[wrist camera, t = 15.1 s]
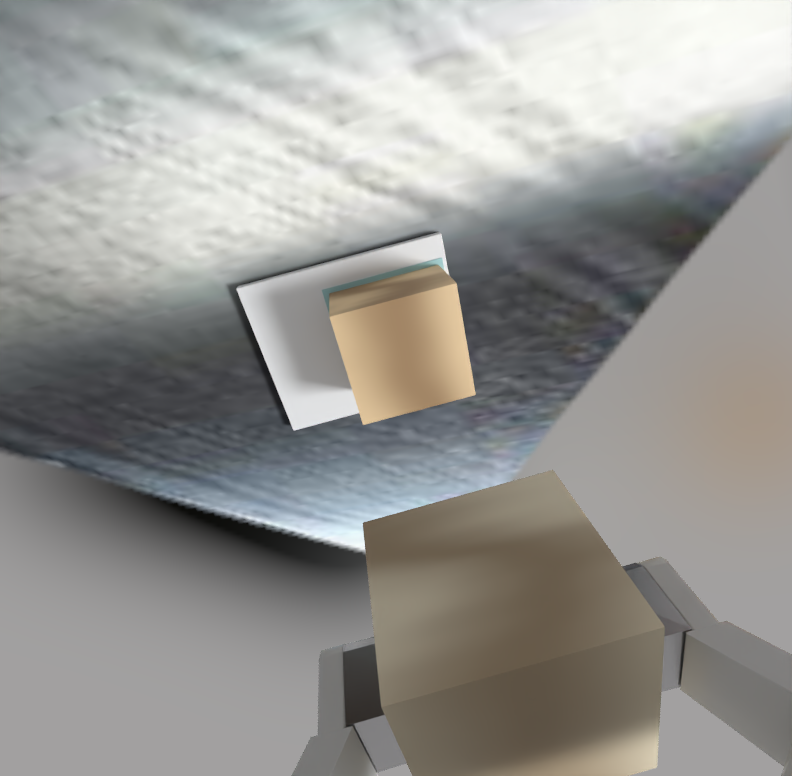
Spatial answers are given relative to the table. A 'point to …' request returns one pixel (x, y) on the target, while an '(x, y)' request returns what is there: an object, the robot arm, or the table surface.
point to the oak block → (402, 343)
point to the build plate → (321, 324)
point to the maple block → (512, 638)
